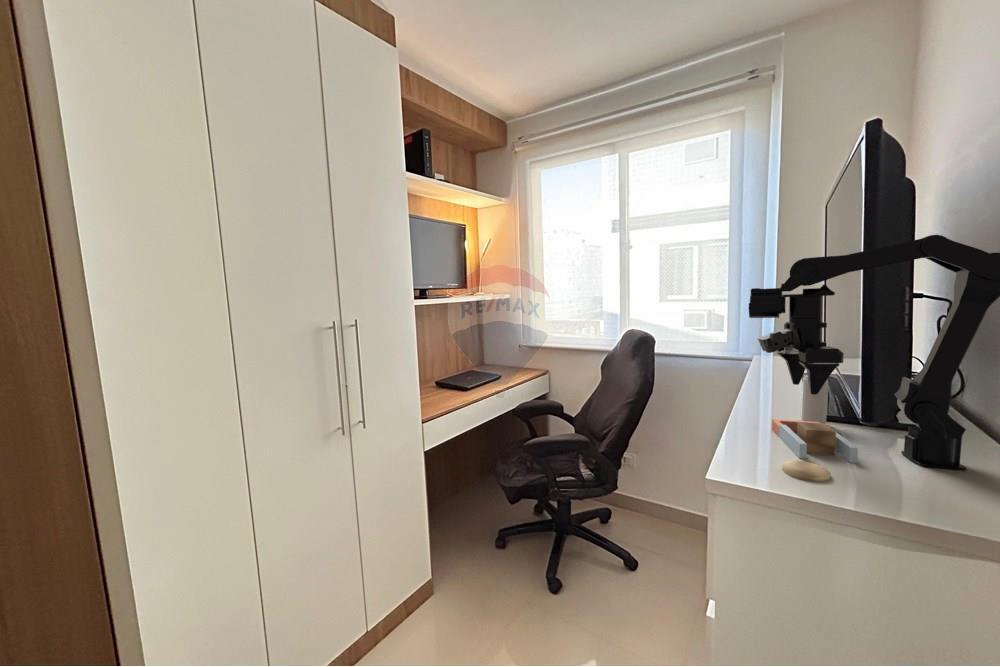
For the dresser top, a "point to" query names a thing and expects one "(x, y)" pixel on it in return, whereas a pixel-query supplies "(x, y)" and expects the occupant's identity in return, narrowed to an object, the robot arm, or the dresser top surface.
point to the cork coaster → (806, 471)
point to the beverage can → (814, 403)
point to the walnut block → (817, 437)
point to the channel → (800, 446)
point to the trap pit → (789, 423)
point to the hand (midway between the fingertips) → (804, 389)
